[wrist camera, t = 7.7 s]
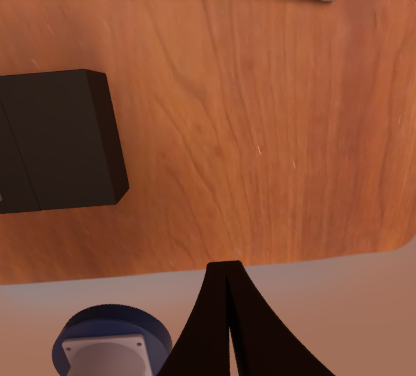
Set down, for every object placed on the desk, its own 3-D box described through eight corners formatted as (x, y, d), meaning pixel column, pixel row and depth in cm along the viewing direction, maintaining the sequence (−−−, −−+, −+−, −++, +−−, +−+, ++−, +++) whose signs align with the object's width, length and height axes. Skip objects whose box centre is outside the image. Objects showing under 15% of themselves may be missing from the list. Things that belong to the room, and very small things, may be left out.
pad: (129, 188, 19) (116, 205, 16) (65, 193, 19) (40, 210, 16) (105, 73, 16) (84, 68, 13) (29, 79, 16) (-8, 76, 13)
